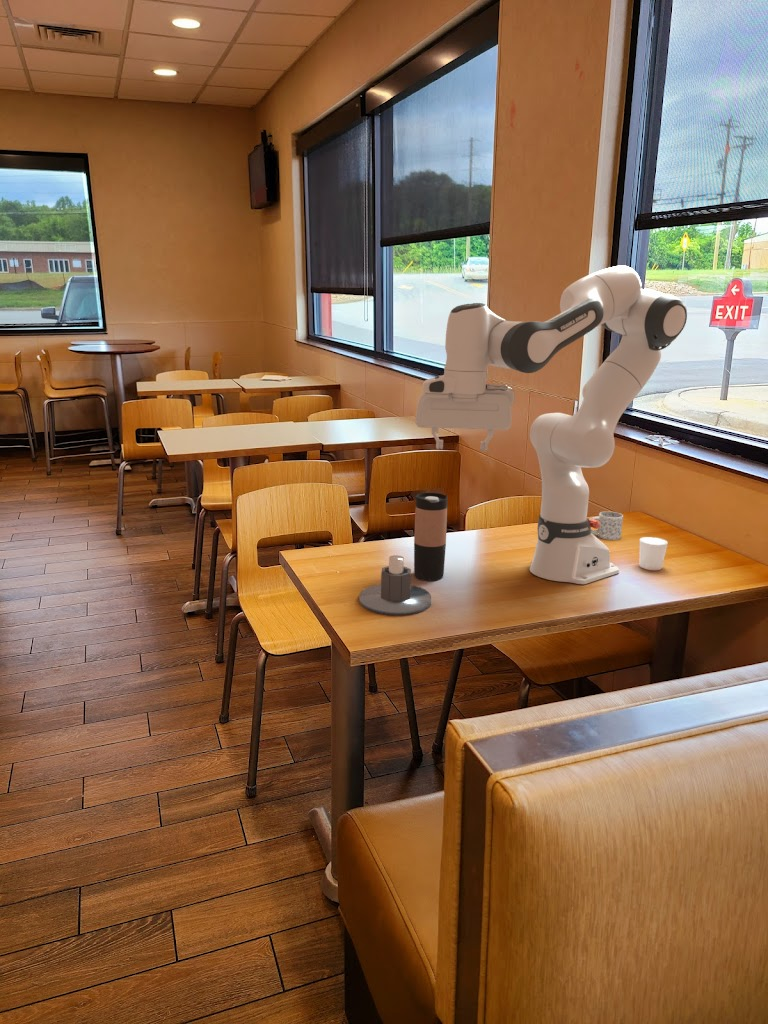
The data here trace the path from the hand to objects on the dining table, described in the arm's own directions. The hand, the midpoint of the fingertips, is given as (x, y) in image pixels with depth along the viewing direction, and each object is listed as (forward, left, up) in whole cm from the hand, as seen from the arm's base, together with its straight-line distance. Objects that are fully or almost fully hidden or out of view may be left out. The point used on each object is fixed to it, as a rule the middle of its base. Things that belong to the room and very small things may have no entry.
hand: (461, 449), depth 161 cm
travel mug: (-2, -15, -34) cm, 37 cm away
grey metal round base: (+13, -4, -34) cm, 37 cm away
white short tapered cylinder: (-58, +2, -34) cm, 68 cm away
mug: (-65, -23, -34) cm, 77 cm away
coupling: (+13, -4, -33) cm, 36 cm away
